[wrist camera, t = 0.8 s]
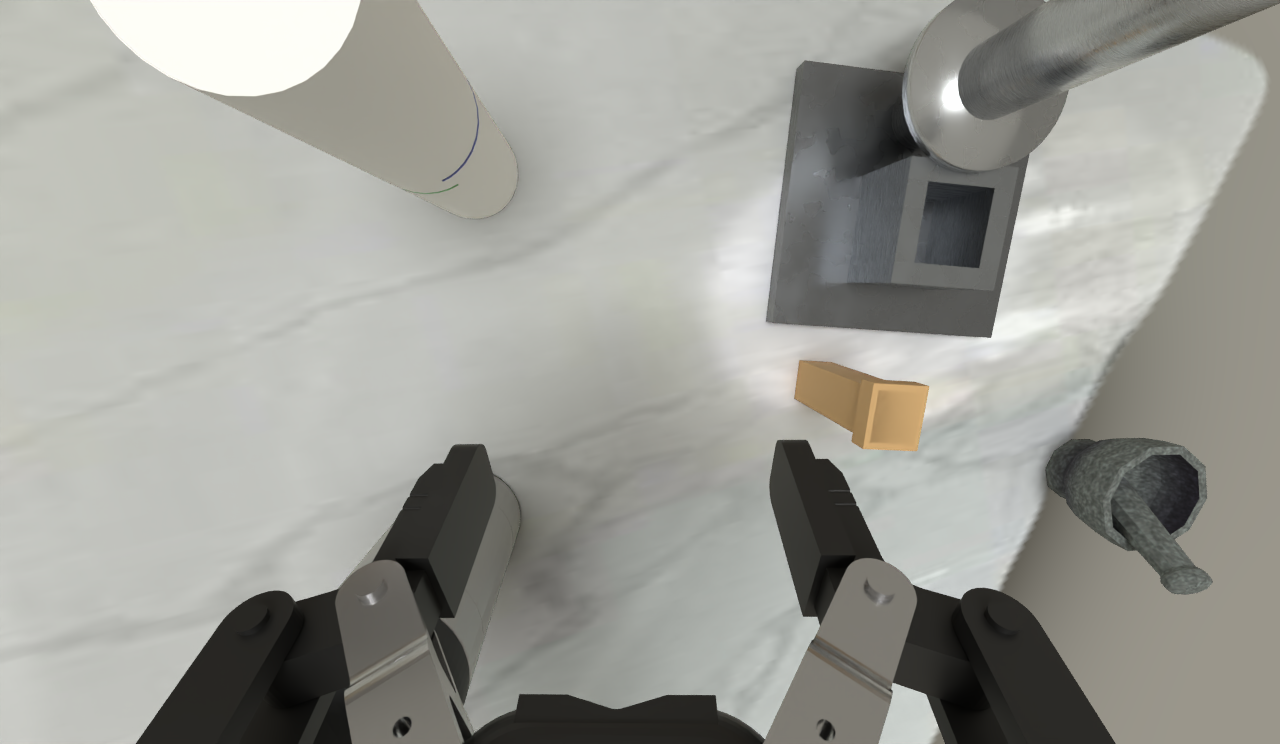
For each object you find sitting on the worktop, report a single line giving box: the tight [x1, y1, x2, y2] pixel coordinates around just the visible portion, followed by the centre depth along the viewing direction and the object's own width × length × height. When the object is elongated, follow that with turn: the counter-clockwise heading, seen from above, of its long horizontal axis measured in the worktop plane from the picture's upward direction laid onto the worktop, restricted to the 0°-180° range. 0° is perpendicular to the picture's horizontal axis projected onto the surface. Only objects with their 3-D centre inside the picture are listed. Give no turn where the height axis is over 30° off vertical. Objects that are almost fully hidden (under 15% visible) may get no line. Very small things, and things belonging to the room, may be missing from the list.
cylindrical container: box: [90, 0, 518, 219], centre depth 24 cm, size 7×7×25 cm
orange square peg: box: [794, 360, 929, 451], centre depth 36 cm, size 4×4×12 cm
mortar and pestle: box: [1046, 438, 1213, 594], centre depth 41 cm, size 11×9×12 cm
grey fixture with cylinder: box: [766, 0, 1280, 338], centre depth 25 cm, size 22×20×30 cm
